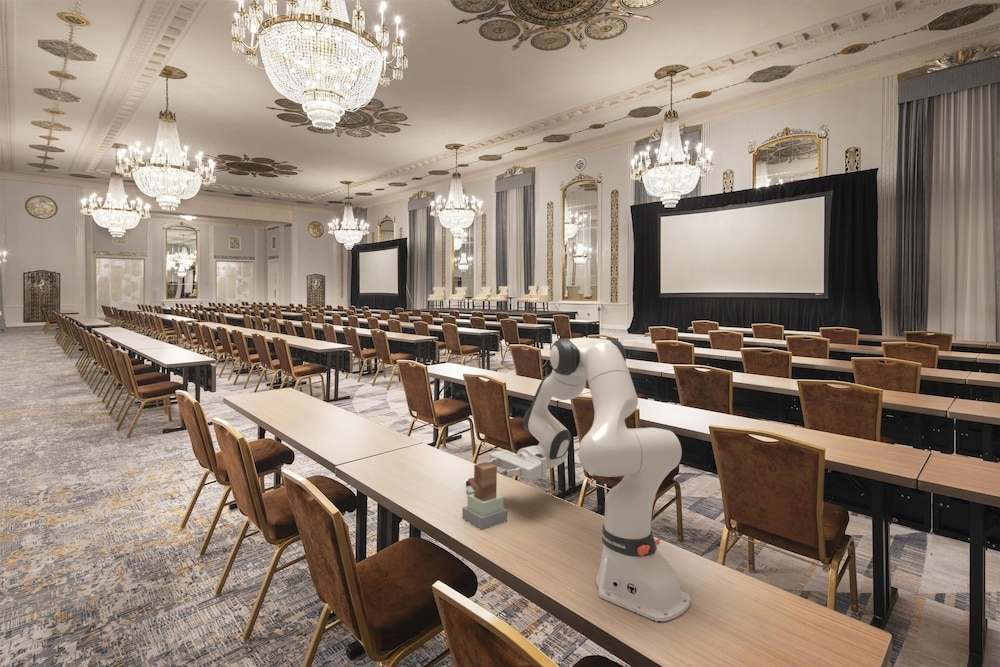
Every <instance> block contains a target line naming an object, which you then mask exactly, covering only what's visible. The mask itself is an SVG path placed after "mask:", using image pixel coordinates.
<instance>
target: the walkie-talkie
mask: <svg viewBox="0 0 1000 667" xmlns="http://www.w3.org/2000/svg"><path fill="white" fill-rule="evenodd" d="M465 484H466V494H467V495H466V496H468V495H471V494H474V477H470V478H468V480H467V481H466V482H465Z"/></svg>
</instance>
